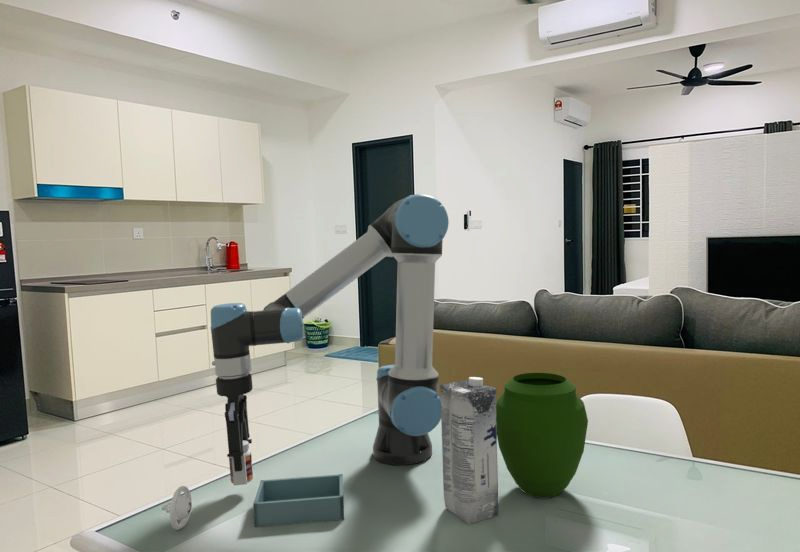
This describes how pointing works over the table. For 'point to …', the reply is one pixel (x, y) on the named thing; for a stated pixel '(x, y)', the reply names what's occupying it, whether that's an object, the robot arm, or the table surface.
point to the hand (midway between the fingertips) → (242, 478)
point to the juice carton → (469, 449)
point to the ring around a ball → (179, 507)
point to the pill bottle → (247, 460)
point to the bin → (299, 500)
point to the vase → (541, 432)
